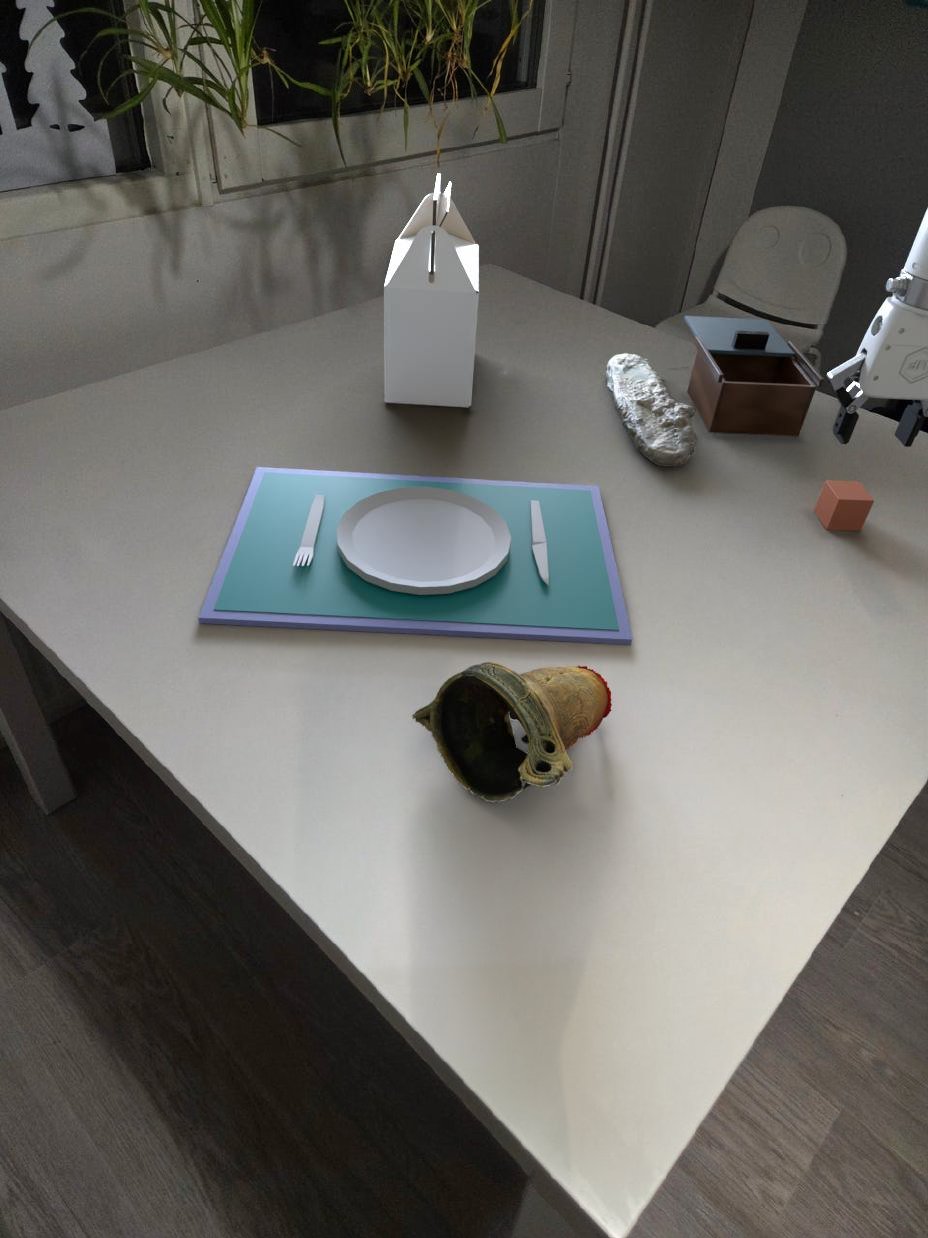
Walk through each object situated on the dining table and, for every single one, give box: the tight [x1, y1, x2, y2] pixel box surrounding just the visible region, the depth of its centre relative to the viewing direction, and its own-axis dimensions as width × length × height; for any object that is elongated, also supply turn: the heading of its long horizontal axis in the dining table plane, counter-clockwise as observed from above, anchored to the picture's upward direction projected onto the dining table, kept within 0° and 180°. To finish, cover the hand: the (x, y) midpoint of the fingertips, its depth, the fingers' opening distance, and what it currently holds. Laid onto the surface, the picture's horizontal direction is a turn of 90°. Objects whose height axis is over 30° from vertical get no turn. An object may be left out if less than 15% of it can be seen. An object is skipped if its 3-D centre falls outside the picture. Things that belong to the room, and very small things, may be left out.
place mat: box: [198, 466, 634, 646], centre depth 96 cm, size 45×30×2 cm
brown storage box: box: [686, 337, 825, 437], centre depth 127 cm, size 16×14×9 cm
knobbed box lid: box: [684, 315, 795, 358], centre depth 131 cm, size 14×14×3 cm
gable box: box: [383, 173, 480, 409], centre depth 125 cm, size 22×13×28 cm, turn 179°
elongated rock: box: [605, 352, 698, 467], centre depth 126 cm, size 35×5×10 cm
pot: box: [411, 661, 613, 804], centre depth 72 cm, size 17×11×18 cm
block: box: [813, 479, 875, 532], centre depth 106 cm, size 5×5×5 cm
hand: (871, 439), depth 100 cm, fingers open, 7 cm apart
